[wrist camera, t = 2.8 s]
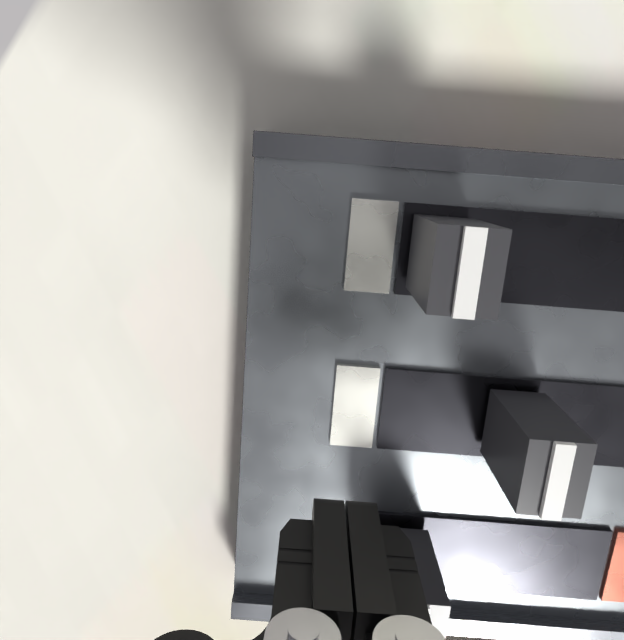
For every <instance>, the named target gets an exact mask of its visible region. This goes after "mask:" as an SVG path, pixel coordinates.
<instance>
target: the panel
mask: <svg viewBox="0 0 624 640" xmlns="http://www.w3.org/2000/svg"><path fill="white" fill-rule="evenodd" d="M252 156H253V157H255V159H254V180H253V201H252V222H251V243H250V264H249V285H248V306H247V327H246V348H245V369H244V391H243V412H242V433H241V454H240V475H239V496H238V517H237V538H236V559H235V580H234V594H233V598H232V606H231V619H240V620H253V621H266V622H269V621H270V618H271V614H272V604H273V594H274V585H275V575H276V566H277V556H278V546H279V537H280V531H281V530H282V528H283V527H284V526H285V525H286V523H287V522H288V521H289V520H290V518H291V519H304V520H312V509H313V500H314V498H318V499H332V500H344V505H345V502H346V500H347V501H361V502H374V503H377V507H378V512H379V518H380V523H381V525H388V526H398V527H399V528H408V529H421V530H428V531H429V535H430V538H431V541H432V545H433V548H434V551H435V555H436V558H437V561H438V565H439V568H440V571H441V575H442V578H443V582H444V585H445V588H446V592H447V595H448V598H449V602H450V605H451V609H450V615H449V621H448V628H447V634H446V635H448V636H461V637H474V638H487V639H500V640H624V159H613V158H600V157H587V156H574V155H561V154H548V153H535V152H522V151H510V150H497V149H484V148H471V147H458V146H445V145H432V144H419V143H407V142H394V141H381V140H368V139H355V138H342V137H329V136H316V135H304V134H291V133H278V132H265V131H254V134H253V155H252ZM414 214H422V215H435V216H448V217H460V218H473V219H477V220H480V221H484V222H487V223H491V224H495V225H498V226H502V227H505V228H509V229H512V236H511V242H510V248H509V254H508V260H507V266H506V273H505V279H504V285H503V291H502V297H501V303H500V309H499V315H498V320H490V319H477V318H475V320H468V319H455V318H452V317H451V316H438V315H426V314H425V313H424V311H423V310H422V309H421V307H420V306H419V305H418V303H417V302H416V300H415V299H414V298H413V296H412V295H411V294H410V292H409V291H408V290H407V288H406V287H405V286H406V278H407V269H408V261H409V252H410V244H411V236H412V227H413V219H414ZM490 389H497V390H510V391H523V392H536V393H546V394H547V395H548V396H549V397H550V398H551V399H552V400H553V401H554V402H555V403H556V404H557V405H558V406H559V407H560V408H561V409H562V410H563V411H564V412H565V413H566V414H567V415H568V416H569V417H570V418H571V419H572V420H573V421H574V422H575V423H576V424H577V425H578V426H579V427H580V428H581V429H583V430H584V431H585V432H586V433H587V434H588V435H589V436H590V437H591V438H592V439H593V440H594V441H595V442H596V443H597V444H598V446H597V450H596V455H595V459H594V464H593V468H592V473H591V477H590V482H589V486H588V491H587V495H586V500H585V504H584V509H583V513H582V518H581V519H573V518H562V519H561V521H551V520H541V519H540V517H539V516H534V515H521V514H515V512H514V510H513V508H512V507H511V505H510V503H509V501H508V500H507V498H506V496H505V494H504V493H503V491H502V489H501V487H500V486H499V484H498V482H497V480H496V479H495V477H494V475H493V473H492V472H491V470H490V468H489V466H488V465H487V463H486V461H485V459H484V458H483V456H482V454H481V452H480V449H481V443H482V437H483V431H484V425H485V419H486V413H487V406H488V400H489V394H490Z"/></svg>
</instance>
